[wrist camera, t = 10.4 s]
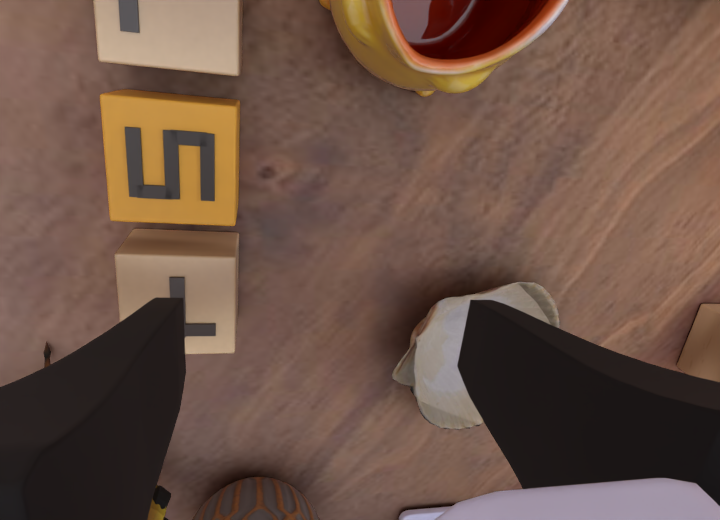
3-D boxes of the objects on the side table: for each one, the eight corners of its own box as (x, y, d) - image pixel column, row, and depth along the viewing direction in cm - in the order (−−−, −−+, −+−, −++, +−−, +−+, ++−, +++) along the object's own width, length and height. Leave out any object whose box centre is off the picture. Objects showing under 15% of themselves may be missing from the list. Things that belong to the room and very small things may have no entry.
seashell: (469, 393, 27) (578, 301, 24) (490, 442, 25) (615, 347, 22) (353, 354, 23) (466, 236, 20) (366, 408, 21) (496, 285, 18)
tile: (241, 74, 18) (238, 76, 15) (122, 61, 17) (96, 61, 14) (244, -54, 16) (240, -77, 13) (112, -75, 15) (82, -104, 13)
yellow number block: (238, 204, 19) (235, 227, 17) (129, 199, 18) (108, 222, 16) (240, 99, 18) (236, 106, 15) (122, 88, 17) (97, 93, 14)
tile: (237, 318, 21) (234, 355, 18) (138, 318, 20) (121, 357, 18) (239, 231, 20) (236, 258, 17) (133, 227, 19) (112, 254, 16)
